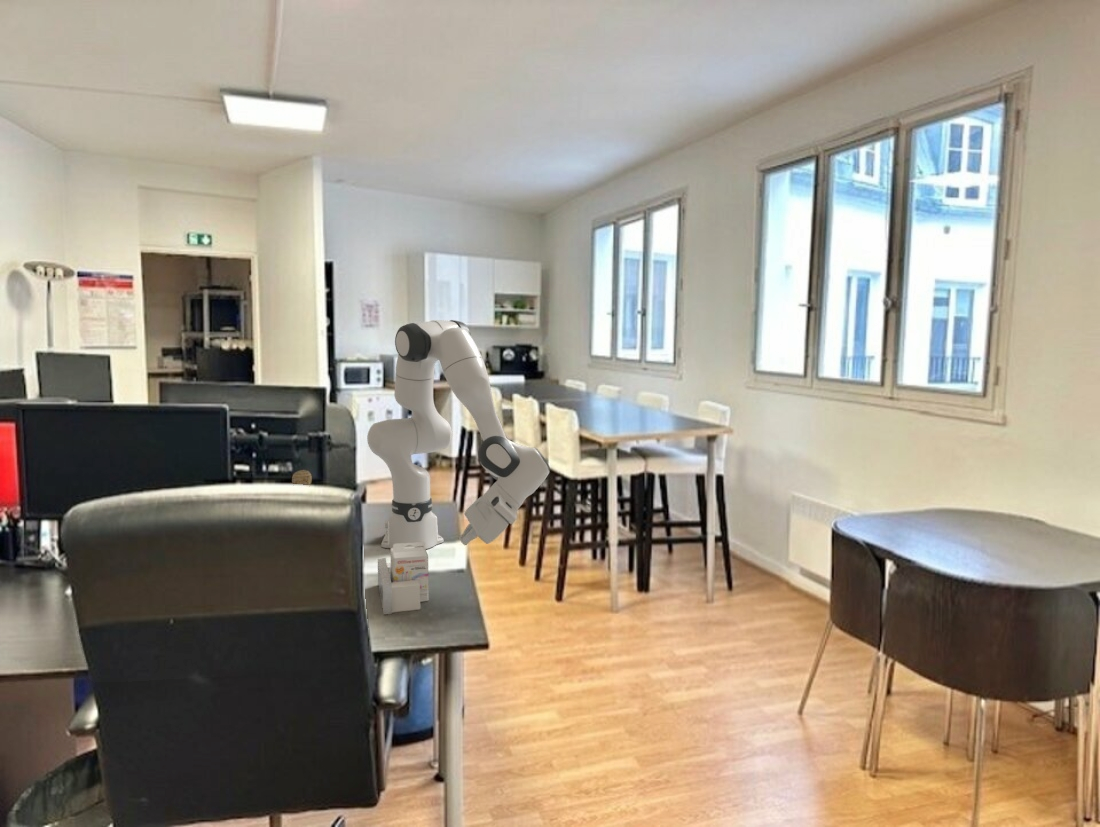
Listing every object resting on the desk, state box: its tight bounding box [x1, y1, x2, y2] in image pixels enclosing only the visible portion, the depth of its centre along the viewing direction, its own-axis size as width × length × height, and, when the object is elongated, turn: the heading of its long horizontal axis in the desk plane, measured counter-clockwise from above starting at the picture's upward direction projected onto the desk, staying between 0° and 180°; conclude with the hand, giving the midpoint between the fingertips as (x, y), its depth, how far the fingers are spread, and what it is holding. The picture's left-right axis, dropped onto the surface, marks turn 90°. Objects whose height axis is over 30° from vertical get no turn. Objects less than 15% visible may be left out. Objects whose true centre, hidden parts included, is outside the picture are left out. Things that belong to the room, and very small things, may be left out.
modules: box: [386, 562, 421, 613], centre depth 179 cm, size 18×7×6 cm, turn 17°
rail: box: [377, 557, 393, 615], centre depth 178 cm, size 20×2×7 cm, turn 17°
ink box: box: [389, 542, 430, 603], centre depth 179 cm, size 9×8×13 cm
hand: (461, 542), depth 182 cm, fingers closed
